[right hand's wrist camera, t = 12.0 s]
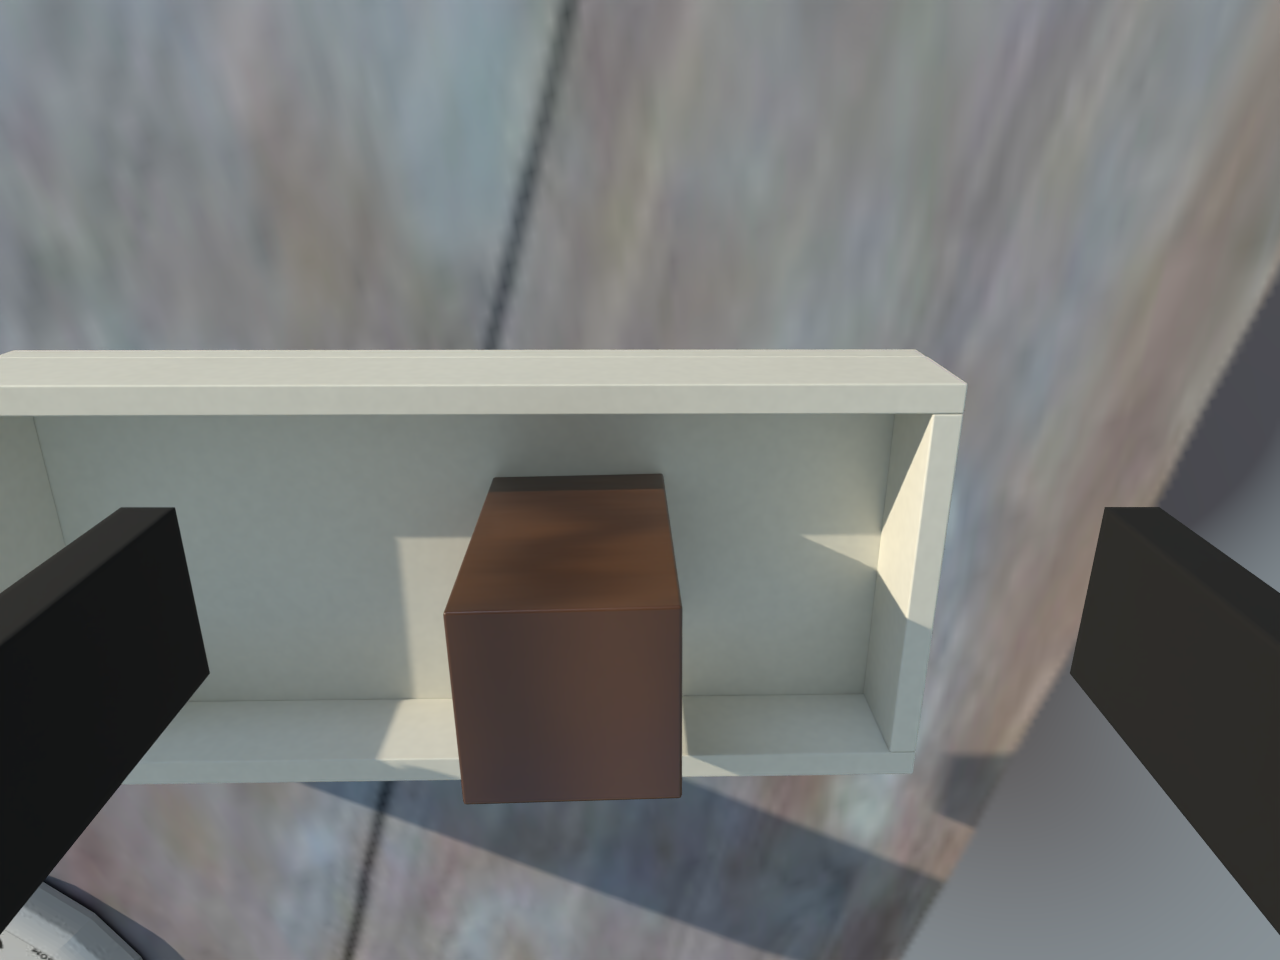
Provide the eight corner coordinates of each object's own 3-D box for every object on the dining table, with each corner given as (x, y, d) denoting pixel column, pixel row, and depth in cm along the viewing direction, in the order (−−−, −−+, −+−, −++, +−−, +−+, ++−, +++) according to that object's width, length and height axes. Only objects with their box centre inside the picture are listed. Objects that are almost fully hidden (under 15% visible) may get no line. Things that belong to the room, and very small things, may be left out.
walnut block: (663, 472, 26) (682, 606, 18) (664, 621, 28) (681, 798, 20) (492, 476, 26) (441, 613, 18) (504, 625, 27) (463, 806, 20)
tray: (917, 349, 26) (1064, 448, 17) (875, 695, 30) (977, 911, 21) (-312, 349, 25) (-791, 455, 16) (-174, 707, 29) (-496, 937, 21)
